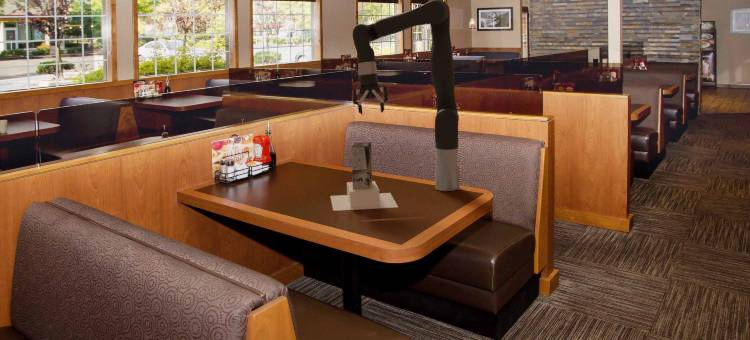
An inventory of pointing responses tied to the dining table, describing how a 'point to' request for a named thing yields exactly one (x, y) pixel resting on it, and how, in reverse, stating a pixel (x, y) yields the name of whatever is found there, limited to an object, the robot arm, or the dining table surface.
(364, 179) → the grey tall block
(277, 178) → the dining table surface
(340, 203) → the mat
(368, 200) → the beige cube with notch
